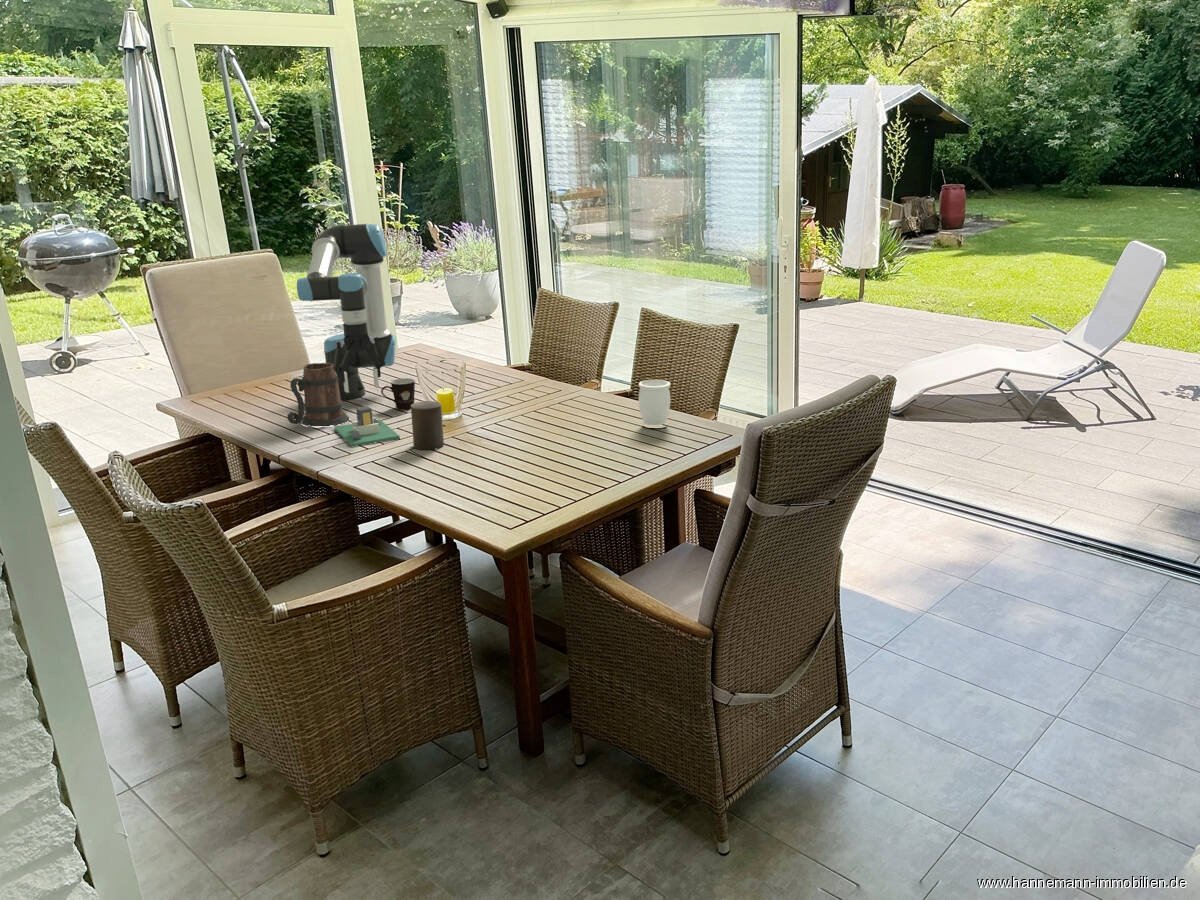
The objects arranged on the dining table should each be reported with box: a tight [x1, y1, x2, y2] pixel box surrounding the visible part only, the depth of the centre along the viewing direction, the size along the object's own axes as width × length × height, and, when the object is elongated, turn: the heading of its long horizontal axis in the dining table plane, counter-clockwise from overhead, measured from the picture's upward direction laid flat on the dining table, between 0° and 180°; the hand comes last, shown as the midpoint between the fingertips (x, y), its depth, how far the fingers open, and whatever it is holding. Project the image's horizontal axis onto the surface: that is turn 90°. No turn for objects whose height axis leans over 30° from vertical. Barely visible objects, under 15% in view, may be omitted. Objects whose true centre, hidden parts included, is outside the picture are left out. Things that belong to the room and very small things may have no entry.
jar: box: [638, 379, 671, 425], centre depth 324 cm, size 11×10×15 cm
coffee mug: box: [381, 377, 416, 411], centre depth 353 cm, size 12×9×10 cm
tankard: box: [287, 362, 350, 426], centre depth 335 cm, size 24×17×20 cm
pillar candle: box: [410, 400, 445, 451], centre depth 310 cm, size 10×10×15 cm
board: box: [333, 418, 401, 447], centre depth 324 cm, size 22×16×4 cm
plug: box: [355, 405, 374, 426], centre depth 323 cm, size 4×4×8 cm
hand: (361, 389), depth 320 cm, fingers open, 9 cm apart
